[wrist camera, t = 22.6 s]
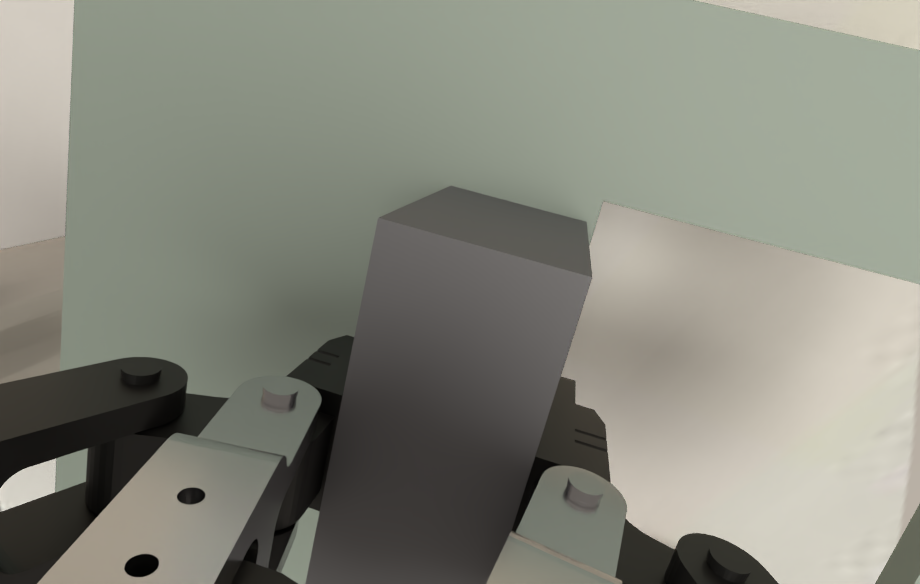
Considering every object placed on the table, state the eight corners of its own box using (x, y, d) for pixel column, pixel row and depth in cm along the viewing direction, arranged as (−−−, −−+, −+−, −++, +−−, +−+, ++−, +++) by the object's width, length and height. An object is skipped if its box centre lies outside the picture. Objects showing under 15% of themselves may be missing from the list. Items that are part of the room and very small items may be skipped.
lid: (80, 500, 19) (-138, 662, 13) (114, -117, 14) (-217, -293, 8) (878, 782, 16) (1045, 1144, 10) (1286, 144, 11) (2053, 160, 5)
